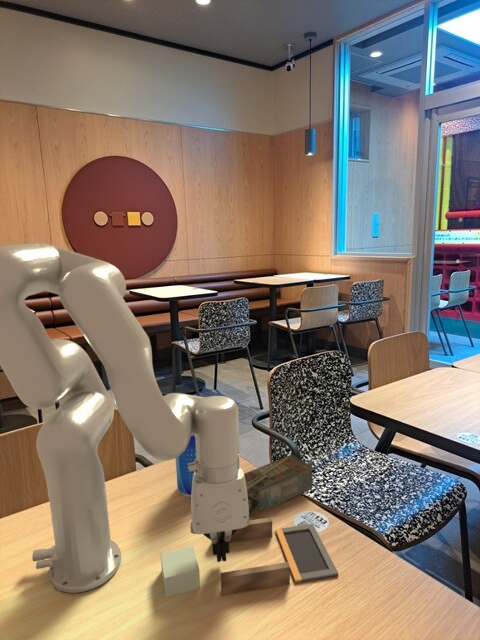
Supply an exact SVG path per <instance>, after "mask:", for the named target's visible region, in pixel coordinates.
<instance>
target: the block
mask: <svg viewBox="0 0 480 640" xmlns="http://www.w3.org/2000/svg"><path fill="white" fill-rule="evenodd" d="M160 561H161V562H160V564H161V573H162V574H161V575H162V580H163V587H164V595H165V597H166V598H167V597H171V596H175V595H178V594H183V593H187V592H190V591H196V590H199V589H201V576H200V575H201V574H200V568H199V563H198V559H197V555H196V552H195V547H194V546H193V545H191V546H187V547H182V548H178V549H174V550H173V549H172V550H169V551H168V550H167V551H164V552H160Z"/></svg>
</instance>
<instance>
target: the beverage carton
mask: <svg viewBox="0 0 480 640" xmlns="http://www.w3.org/2000/svg"><path fill="white" fill-rule="evenodd" d="M244 476H245V480H246V485H247V494H248V506H249V518H251V517H252V516H255V515H257V514H259V513H262V512H264V511H267V510H269V509H270V508H273V507H275V506H277V505H279V504H282V503H284V502H285V501H287V500H291V499H292V498H295V497H297V496H299V495H301V494H303V493H306V492H308V491H310V490H313V469H312V465H310V464H308V463H307V462H305V461H304V460H303V459H301V458H299V457H297V456H296V455H294V454H293V453H292V454H289V455H287V456H284V457H281V458H280V459H279V458H278V459H277V460H275V461H272V462H270V463H267V464H264V465H263V466H260V467H258V468H255V469H252V470H250V471H247V472H245V473H244Z"/></svg>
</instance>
